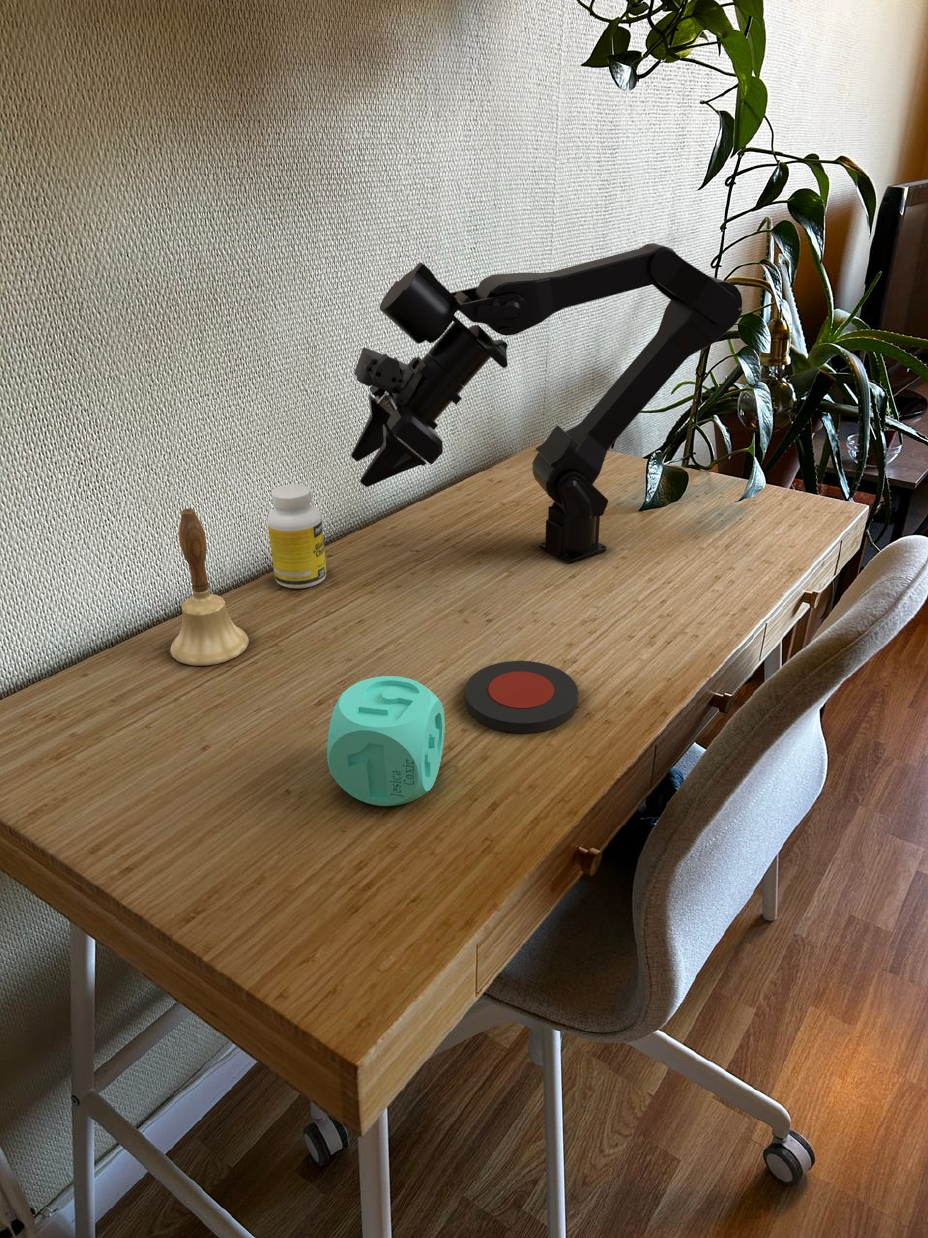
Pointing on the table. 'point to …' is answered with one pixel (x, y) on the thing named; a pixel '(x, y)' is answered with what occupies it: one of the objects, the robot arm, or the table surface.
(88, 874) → the table surface
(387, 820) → the table surface
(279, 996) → the table surface
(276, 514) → the pill bottle
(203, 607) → the hand bell
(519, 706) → the disc
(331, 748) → the decorative dice
